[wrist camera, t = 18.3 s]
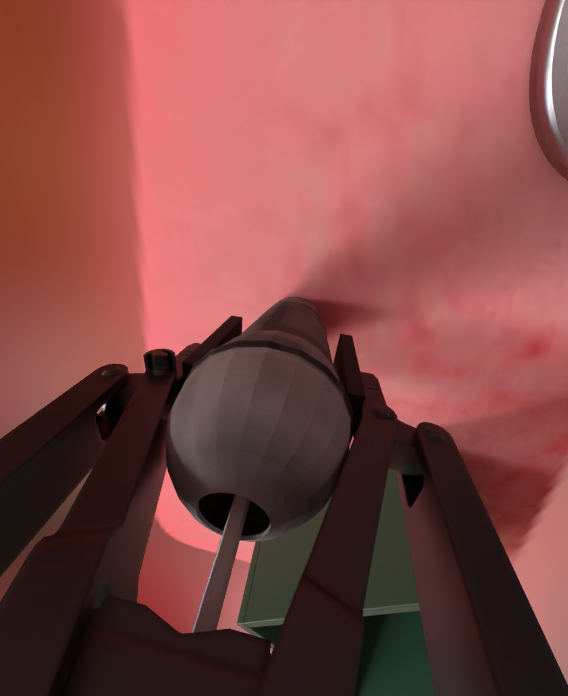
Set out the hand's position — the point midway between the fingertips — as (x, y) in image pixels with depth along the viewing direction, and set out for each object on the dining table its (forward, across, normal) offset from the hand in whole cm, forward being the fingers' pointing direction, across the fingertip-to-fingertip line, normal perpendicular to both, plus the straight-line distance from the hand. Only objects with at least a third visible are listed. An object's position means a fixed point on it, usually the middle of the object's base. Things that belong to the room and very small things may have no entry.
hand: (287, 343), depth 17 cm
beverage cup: (+4, 0, 0) cm, 4 cm away
